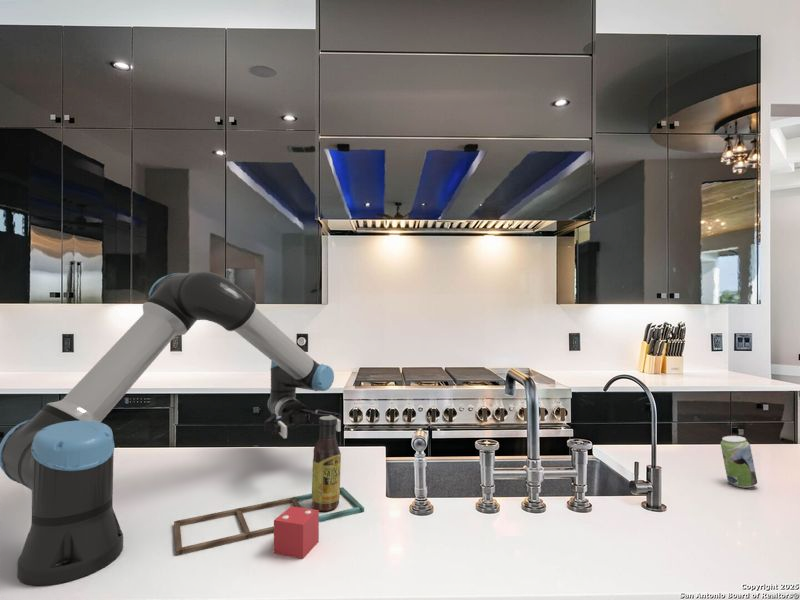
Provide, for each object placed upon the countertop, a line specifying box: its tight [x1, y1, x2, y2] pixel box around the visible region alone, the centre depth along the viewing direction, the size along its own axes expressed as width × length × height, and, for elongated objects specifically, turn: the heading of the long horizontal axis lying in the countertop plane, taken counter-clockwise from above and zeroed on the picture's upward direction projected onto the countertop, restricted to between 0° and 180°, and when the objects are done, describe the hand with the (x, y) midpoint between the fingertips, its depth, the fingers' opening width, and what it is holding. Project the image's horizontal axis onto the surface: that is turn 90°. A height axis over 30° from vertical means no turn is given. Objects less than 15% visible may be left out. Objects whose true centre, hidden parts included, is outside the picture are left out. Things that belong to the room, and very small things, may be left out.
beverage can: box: [720, 435, 758, 489], centre depth 112 cm, size 6×7×12 cm
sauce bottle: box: [311, 416, 342, 512], centre depth 101 cm, size 6×6×20 cm
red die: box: [273, 505, 320, 559], centre depth 83 cm, size 6×6×6 cm
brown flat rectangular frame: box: [173, 486, 365, 556], centre depth 95 cm, size 37×13×1 cm, turn 118°
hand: (313, 429), depth 110 cm, fingers open, 13 cm apart
